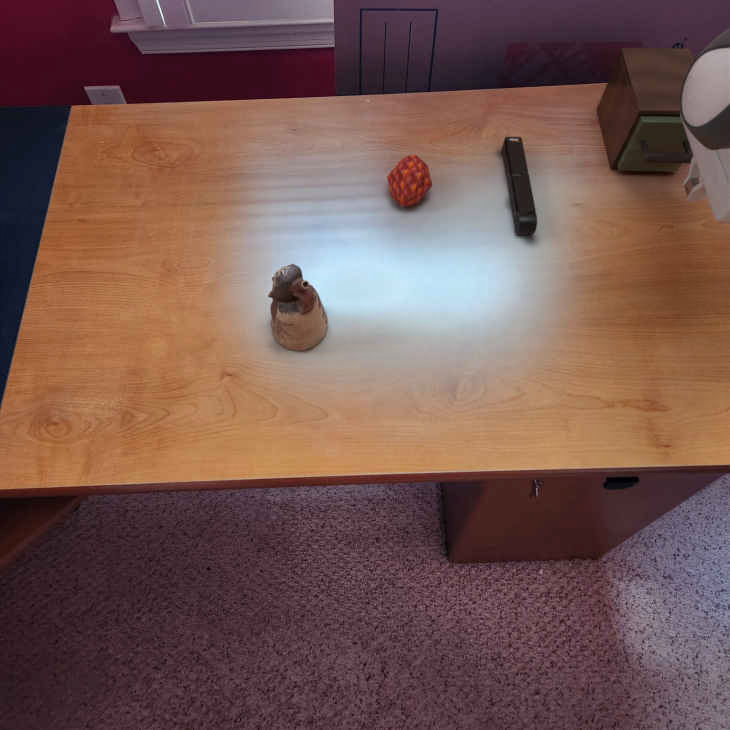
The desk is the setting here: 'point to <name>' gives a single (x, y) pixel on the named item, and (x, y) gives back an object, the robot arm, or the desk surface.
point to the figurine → (296, 310)
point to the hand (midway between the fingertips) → (691, 193)
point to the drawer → (657, 145)
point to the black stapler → (519, 186)
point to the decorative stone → (409, 180)
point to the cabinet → (640, 93)
